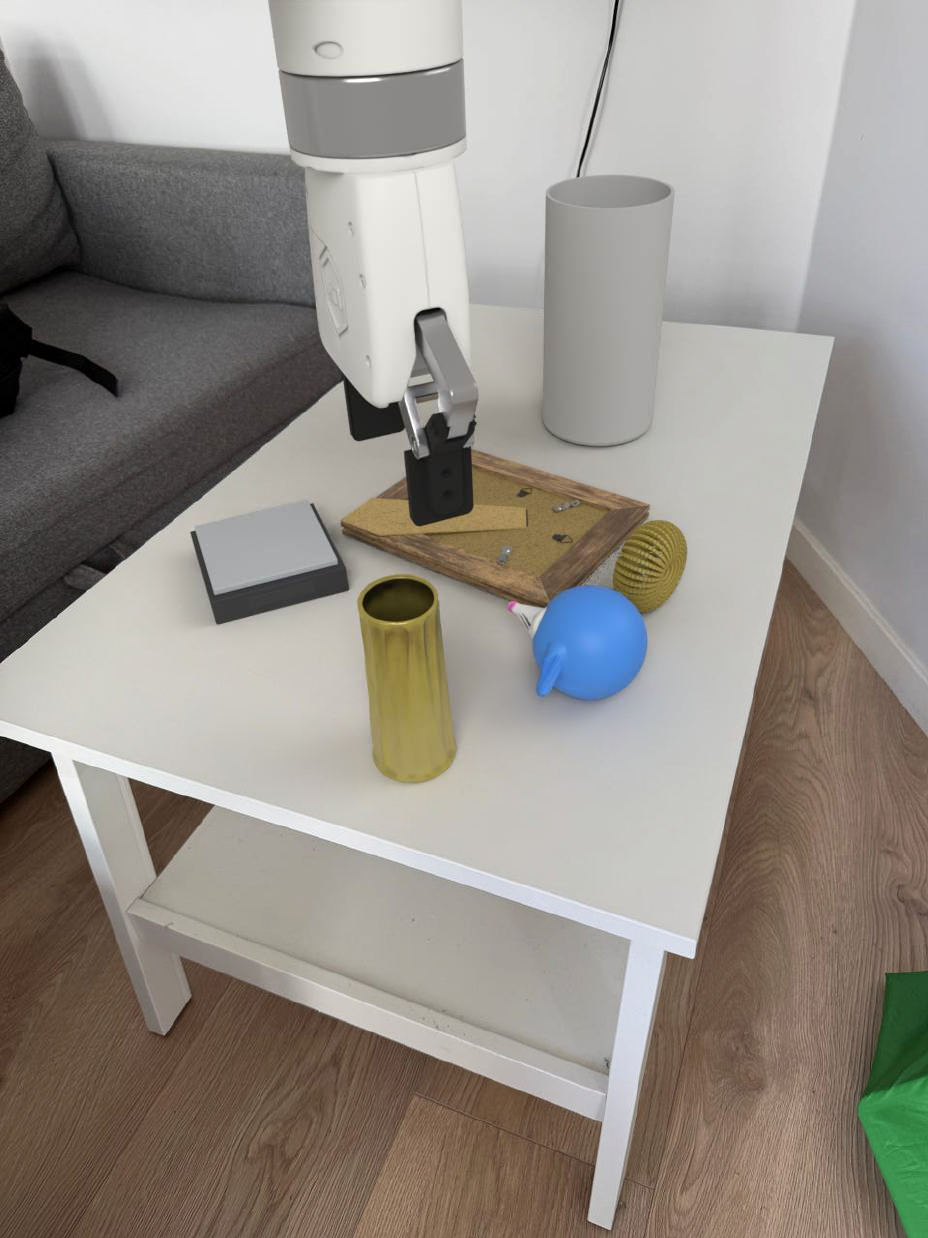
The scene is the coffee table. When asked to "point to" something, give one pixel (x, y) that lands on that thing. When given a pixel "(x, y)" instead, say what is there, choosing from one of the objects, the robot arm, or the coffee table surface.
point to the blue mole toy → (585, 641)
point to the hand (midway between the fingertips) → (408, 472)
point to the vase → (406, 678)
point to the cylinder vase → (604, 305)
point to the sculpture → (650, 564)
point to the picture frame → (507, 531)
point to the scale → (267, 561)
